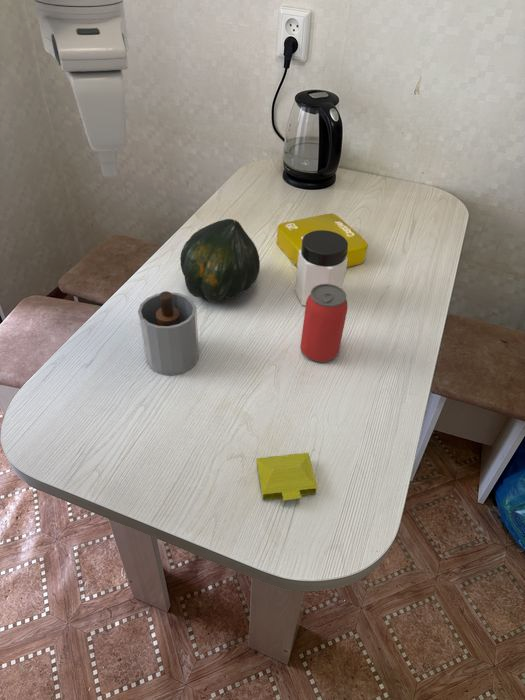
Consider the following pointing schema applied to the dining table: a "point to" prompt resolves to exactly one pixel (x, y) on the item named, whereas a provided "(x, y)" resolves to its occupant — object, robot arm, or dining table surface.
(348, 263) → the yellow box
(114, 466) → the dining table surface
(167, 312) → the brown bottle
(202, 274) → the squash
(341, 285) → the jar
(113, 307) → the dining table surface
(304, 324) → the beer can
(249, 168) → the dining table surface
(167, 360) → the steel cup
